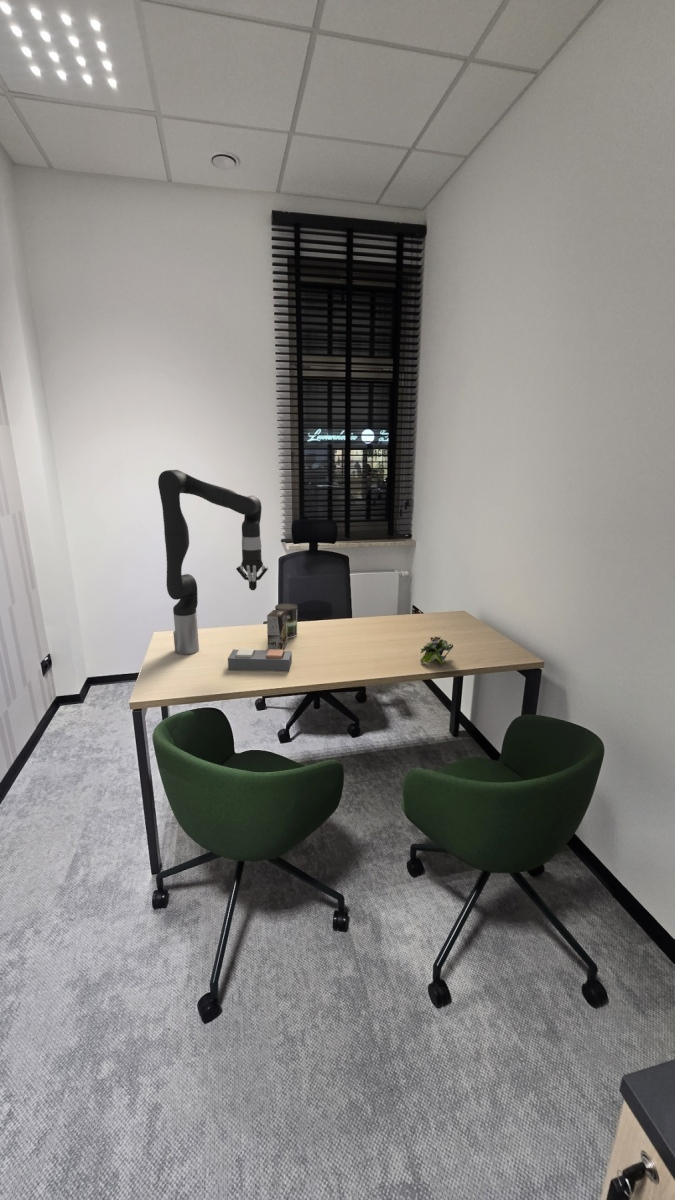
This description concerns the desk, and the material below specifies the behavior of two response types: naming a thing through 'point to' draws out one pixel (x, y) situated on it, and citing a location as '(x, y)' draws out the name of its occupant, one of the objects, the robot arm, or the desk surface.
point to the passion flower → (435, 650)
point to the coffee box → (277, 629)
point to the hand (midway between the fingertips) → (253, 589)
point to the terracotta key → (275, 653)
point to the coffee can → (290, 618)
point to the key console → (260, 662)
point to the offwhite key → (245, 653)
